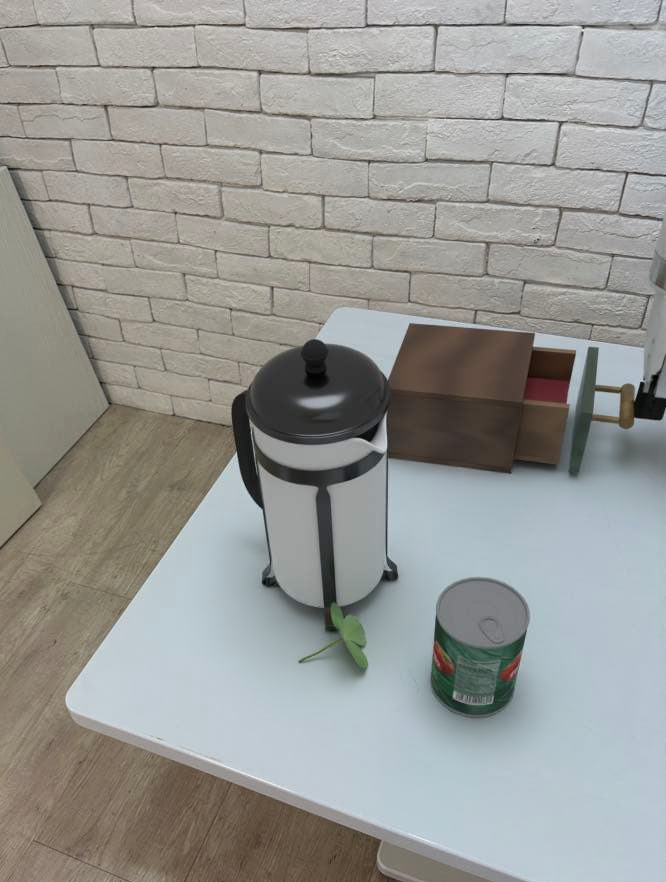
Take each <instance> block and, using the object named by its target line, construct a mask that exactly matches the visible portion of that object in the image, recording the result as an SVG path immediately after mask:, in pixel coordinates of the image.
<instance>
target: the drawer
mask: <svg viewBox="0 0 666 882" xmlns="http://www.w3.org/2000/svg"><path fill="white" fill-rule="evenodd" d="M599 348H600V347H596V346H588V347H587V352H586V357H585V359H584V366H583V370H582V375H581V379H580V384H579V389H578V393H577V398H576V403H575V410H574V419H573V428H572V435H571V436H572V437H571V446H570V454H569V462H568V463H569V464H568V473H576V474H579V473H580V471H581V466H582V463H583V458H584V454H585V450H586V446H587V441H588V437H589V433H590V429H591V424H592V422H597V423H605V424H606V423H608V424H615V425H616V424H617V425H618V427H620V428H621V429H623V430H629V429H631V428H632V427H634V425H635V418H634V409H635V399H636V386H635V385H634V384H632V383H627V382H626V383H624V384H623V385H621V386H615V385H614V386H613V385H601V384H597V374H598V361H599V350H600V349H599ZM576 356H577V349H566V348H557V347H556V348H554V347H544V346H543V347H542V346H533V348H532V354H531V359H530V365H529V370H528V375H527V377H530V378H540V379H551V380H561V381H569V387H570V385H571V381H572V375H573V370H574V365H575V361H576ZM569 390H570V389H569ZM569 390H568V392H569ZM596 392H597V393H607V394H608V393H609V394H619V413H618V416H613V415H605V414H602V415H601V414H594V409H595V397H596ZM570 407H571V404H570V403H567V404H564V403H554V402H544V401H535V400H525V399H523V402H522V409H521V415H520V421H519V428H518V434H517V441H516V447H515V453H514V460H516V461H517V460H519V461H524V462H525V461H526V462H535V463H542V464H549V465H550V464H551V465H558V464H559V460H560V457H561V451H562V447H563V441H564V436H565V433H566V428H567V427H566V426H567V422H568V417H569V413H570Z"/></svg>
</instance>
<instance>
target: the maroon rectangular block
mask: <svg viewBox="0 0 666 882" xmlns="http://www.w3.org/2000/svg"><path fill="white" fill-rule="evenodd" d="M568 390H570V386H569V381H561V380H551V379H540V378H530V377H527V381H526V386H525V392H524V397H523V399H525V400H535V401H544V402H554V403H564V404H568V396H569V391H568Z"/></svg>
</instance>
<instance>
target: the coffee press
mask: <svg viewBox="0 0 666 882" xmlns="http://www.w3.org/2000/svg"><path fill="white" fill-rule="evenodd" d="M390 399H391V390H390V385H389V382H388V378H387V376H386V375H385V373H384V372H383V371H382V370H381V369H380V368H379V366H378V364H377V363H376V362H375V361H374V360H373V359H372V358H370V357H369V356H368V355H367V354H365V353H363V352H362V351H360V350H358V349H355V348H353V347H350V346H347V345H342V344H337V343H326V342H324V341H322V340H320V339H317V338H312V339H309V340H307V341H306V342H305V343H304V344H302V345H298V346H295V347H292V348H289V349H286V350H284V351H282V352H280V353H278V354H276V355H274V356H273V357H271V358H270V359H268V360H267V361H266V362H265V363H264V364H262V366H260V367H259V370H258V371H257V372H256V373H255V375H254V378H253V380H252V382H250V384H249V386H248V388H247V389H246V390H245V389H244V391H242V392H240V393H239V394H237V395H236V396H235V397H234V399H233V401H232V402H231V410H230V413H231V414H230V415H231V422H232V423H231V425H232V432H233V438H234V444H235V445H234V446H235V451H236V457H237V462H238V467H239V472H240V473H239V474H240V476H241V480H242V483H243V485H244V487H245V489H246V491H247V493H248V494H249V496H250V498H251V500H252V501H253V502H254V504H256V505H257V507H259V509H261V510H262V516H263V523H264V530H265V537H266V545H267V552H268V560H269V563H268V565H266V567H265V568H264V569H263V571H262V572H261V584H262V586H264V587H267V588H272V587H275V585H277V584H278V585H279V587H280V589H282V591H284V593H285V594H287V595H288V596H289V597H290V598H292V599H294V600H295V601H297V602H299V603H301V604H303V605H306V606H310V607H315V608H321V609H322V608H323V612H324V628H325V631H339V630H338V629H337V628H336V627H335V626H334V624H333V621H332V617H331V605H332V603H333V602H335V603H336V604H337V605H338V606H339V607H340V608H341V607H344V606H349V605H352V604H354V603H357V602H359V601H360V600H362V599H363V598H365V597H366V596H368V595H369V594H370V593H372V591H373V590H374V589H375V588H376V587H377V586H378V584H379V583H380V580H381V579H383V580H385V581H388V582H393V581H396V580H398V579H399V570H398V569H399V568H398V565H397V563H395V562H394V561H393V560H392V559H390V557H389V556H388V539H389V538H388V536H389V535H388V530H389V529H388V527H389V525H388V523H389V521H388V519H389V516H388V515H389V458H388V419H387V410H388V408H389V405H390ZM251 423H252V427H251ZM385 560H386V565H387V567H388V568H389V569H390V570H386V569H385ZM272 569H273V574H274V575H273V576H270V577H268V576H269V575H270V573H271V572H272Z"/></svg>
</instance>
